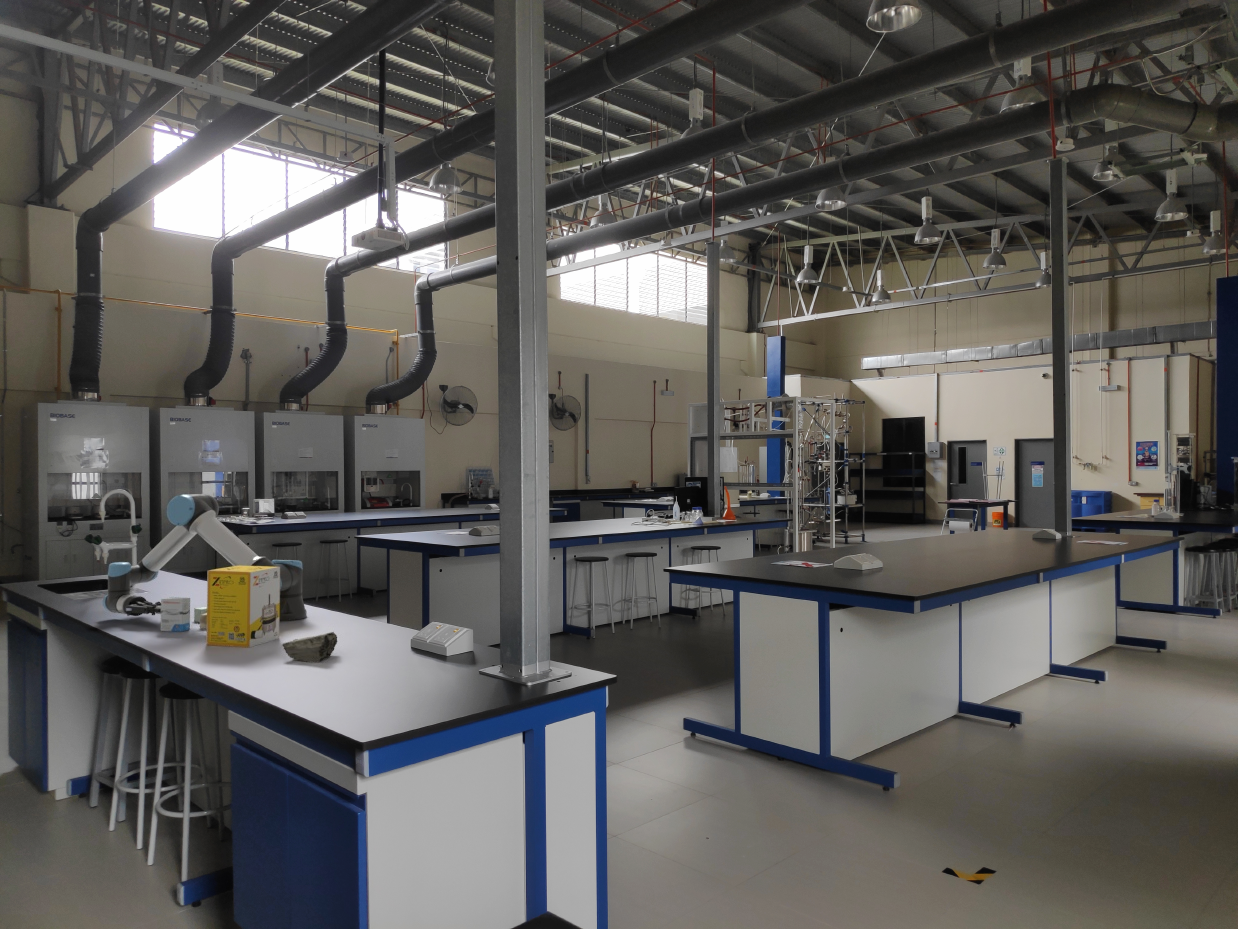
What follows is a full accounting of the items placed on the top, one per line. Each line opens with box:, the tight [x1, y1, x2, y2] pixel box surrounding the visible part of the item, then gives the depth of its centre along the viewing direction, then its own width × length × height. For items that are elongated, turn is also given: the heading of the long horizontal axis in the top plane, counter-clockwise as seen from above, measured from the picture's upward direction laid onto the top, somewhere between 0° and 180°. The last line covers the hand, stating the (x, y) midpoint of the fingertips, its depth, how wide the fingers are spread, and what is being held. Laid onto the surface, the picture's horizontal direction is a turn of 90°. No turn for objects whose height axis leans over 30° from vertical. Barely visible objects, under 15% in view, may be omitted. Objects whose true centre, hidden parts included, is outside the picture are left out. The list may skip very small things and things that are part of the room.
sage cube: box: [193, 606, 207, 623], centre depth 315 cm, size 5×5×5 cm
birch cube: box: [199, 613, 207, 630], centre depth 302 cm, size 5×5×5 cm
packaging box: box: [205, 565, 280, 648], centre depth 278 cm, size 16×16×25 cm
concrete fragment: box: [281, 631, 338, 663], centre depth 255 cm, size 15×10×15 cm
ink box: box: [160, 596, 191, 633], centre depth 296 cm, size 8×5×12 cm, turn 84°
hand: (167, 611), depth 298 cm, fingers closed
